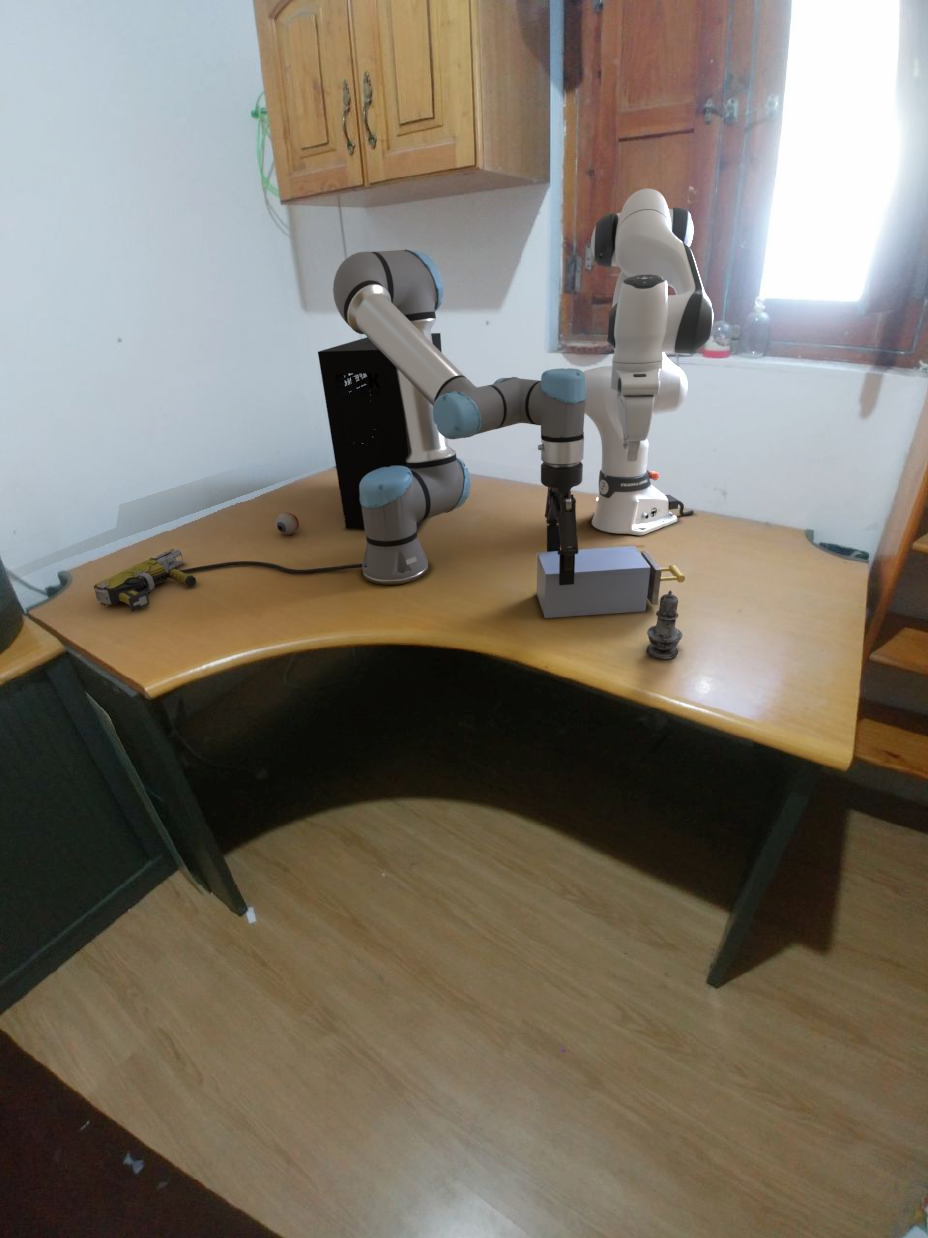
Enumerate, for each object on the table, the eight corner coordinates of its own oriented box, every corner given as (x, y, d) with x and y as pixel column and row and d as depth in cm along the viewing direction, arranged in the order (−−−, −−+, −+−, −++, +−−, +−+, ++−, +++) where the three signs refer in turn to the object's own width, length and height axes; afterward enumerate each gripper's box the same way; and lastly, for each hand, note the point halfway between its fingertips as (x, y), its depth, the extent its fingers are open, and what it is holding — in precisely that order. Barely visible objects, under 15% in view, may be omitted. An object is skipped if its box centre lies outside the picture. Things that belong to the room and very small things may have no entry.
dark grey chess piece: (681, 660, 104) (691, 599, 98) (646, 658, 105) (653, 597, 99) (678, 642, 108) (687, 583, 102) (644, 640, 110) (651, 581, 104)
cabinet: (630, 587, 128) (634, 545, 123) (645, 611, 119) (650, 567, 114) (536, 594, 128) (537, 552, 123) (544, 618, 119) (545, 574, 114)
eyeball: (273, 537, 164) (268, 516, 161) (287, 528, 169) (282, 508, 166) (291, 539, 161) (286, 518, 158) (305, 530, 166) (301, 510, 163)
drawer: (669, 582, 127) (674, 548, 123) (685, 602, 119) (691, 567, 116) (554, 590, 127) (555, 556, 123) (563, 611, 119) (564, 576, 115)
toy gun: (219, 557, 146) (169, 546, 150) (142, 598, 126) (87, 585, 129) (222, 574, 148) (172, 563, 152) (147, 618, 128) (92, 604, 132)
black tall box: (415, 531, 162) (398, 349, 139) (345, 528, 166) (317, 351, 144) (450, 487, 193) (440, 332, 171) (390, 485, 198) (373, 335, 175)
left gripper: (530, 446, 119) (531, 546, 130) (553, 483, 98) (552, 599, 108) (568, 444, 120) (566, 543, 130) (599, 480, 98) (593, 596, 108)
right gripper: (614, 370, 119) (609, 441, 126) (622, 386, 101) (616, 468, 108) (647, 369, 118) (640, 441, 125) (661, 385, 100) (652, 468, 107)
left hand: (559, 569), depth 119 cm, fingers open, 13 cm apart
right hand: (629, 454), depth 116 cm, fingers open, 8 cm apart
